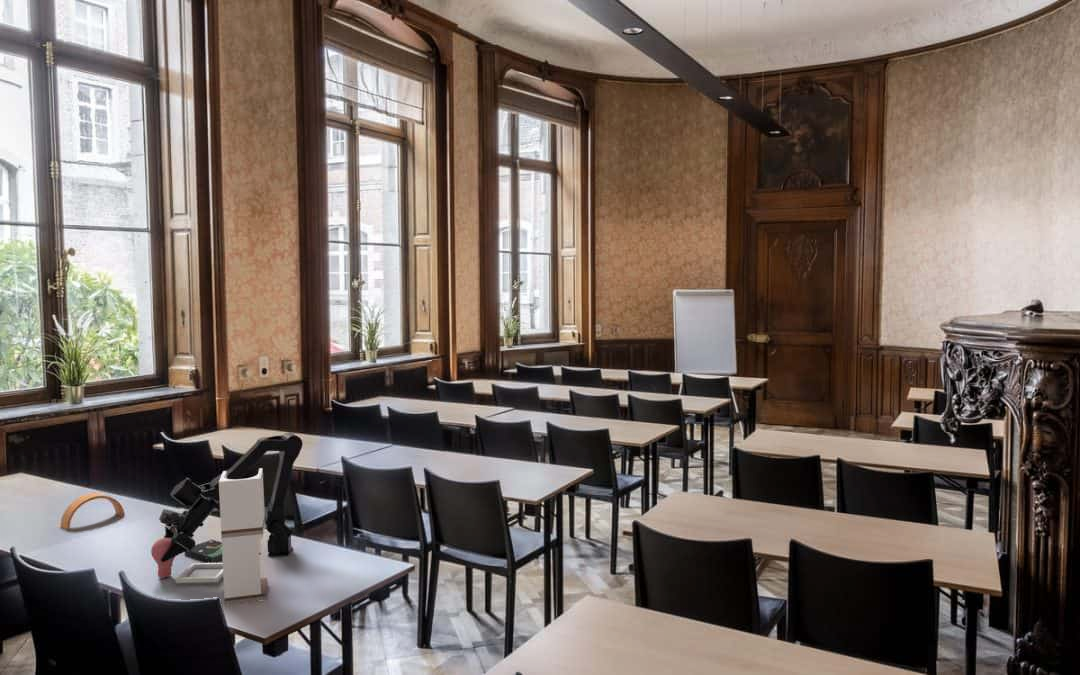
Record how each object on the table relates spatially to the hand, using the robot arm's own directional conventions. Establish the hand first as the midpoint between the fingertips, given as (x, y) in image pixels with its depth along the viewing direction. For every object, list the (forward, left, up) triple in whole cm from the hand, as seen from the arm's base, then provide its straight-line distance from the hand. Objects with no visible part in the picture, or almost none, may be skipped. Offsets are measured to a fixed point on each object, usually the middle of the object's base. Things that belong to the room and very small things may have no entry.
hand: (159, 557), depth 232 cm
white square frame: (-13, 0, -7) cm, 15 cm away
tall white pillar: (-30, +13, -7) cm, 34 cm away
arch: (+49, -55, -7) cm, 74 cm away
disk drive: (-8, -19, -7) cm, 22 cm away
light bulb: (-1, -1, -7) cm, 7 cm away
